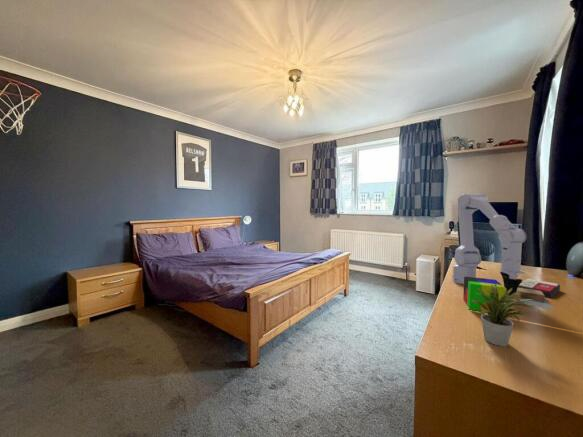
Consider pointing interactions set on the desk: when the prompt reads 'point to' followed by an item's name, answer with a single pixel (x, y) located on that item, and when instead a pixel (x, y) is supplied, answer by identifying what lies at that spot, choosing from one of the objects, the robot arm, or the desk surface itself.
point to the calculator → (541, 287)
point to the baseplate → (537, 303)
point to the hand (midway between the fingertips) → (509, 292)
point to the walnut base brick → (531, 294)
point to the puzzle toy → (472, 289)
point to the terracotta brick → (515, 296)
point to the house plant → (499, 316)
